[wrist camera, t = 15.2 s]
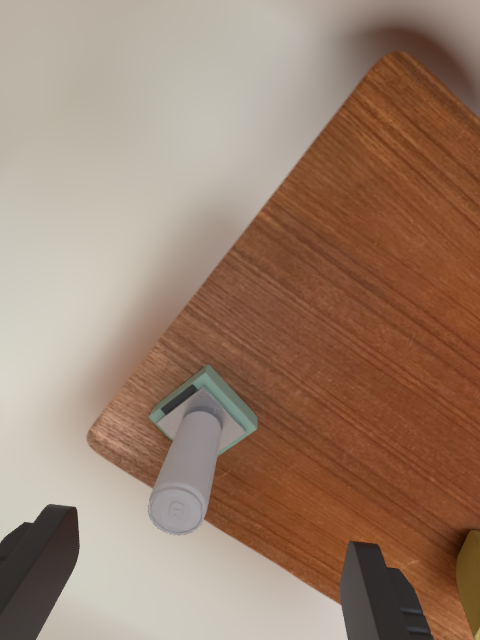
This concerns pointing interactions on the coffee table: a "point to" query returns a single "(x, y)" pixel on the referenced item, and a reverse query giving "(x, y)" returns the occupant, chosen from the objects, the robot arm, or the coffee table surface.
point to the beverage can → (186, 476)
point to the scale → (220, 390)
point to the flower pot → (470, 580)
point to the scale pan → (204, 403)
